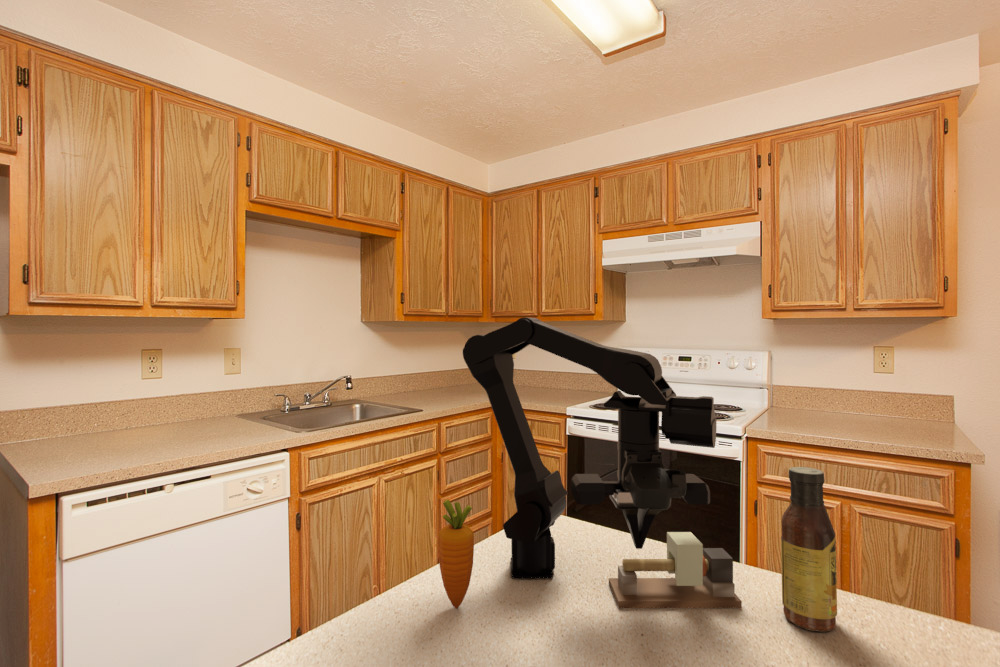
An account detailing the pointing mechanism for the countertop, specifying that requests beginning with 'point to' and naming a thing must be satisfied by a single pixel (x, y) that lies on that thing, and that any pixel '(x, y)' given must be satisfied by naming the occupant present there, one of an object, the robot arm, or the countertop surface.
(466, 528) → the carrot
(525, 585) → the countertop surface
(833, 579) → the sauce bottle
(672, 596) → the cable stand
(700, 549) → the cream block
